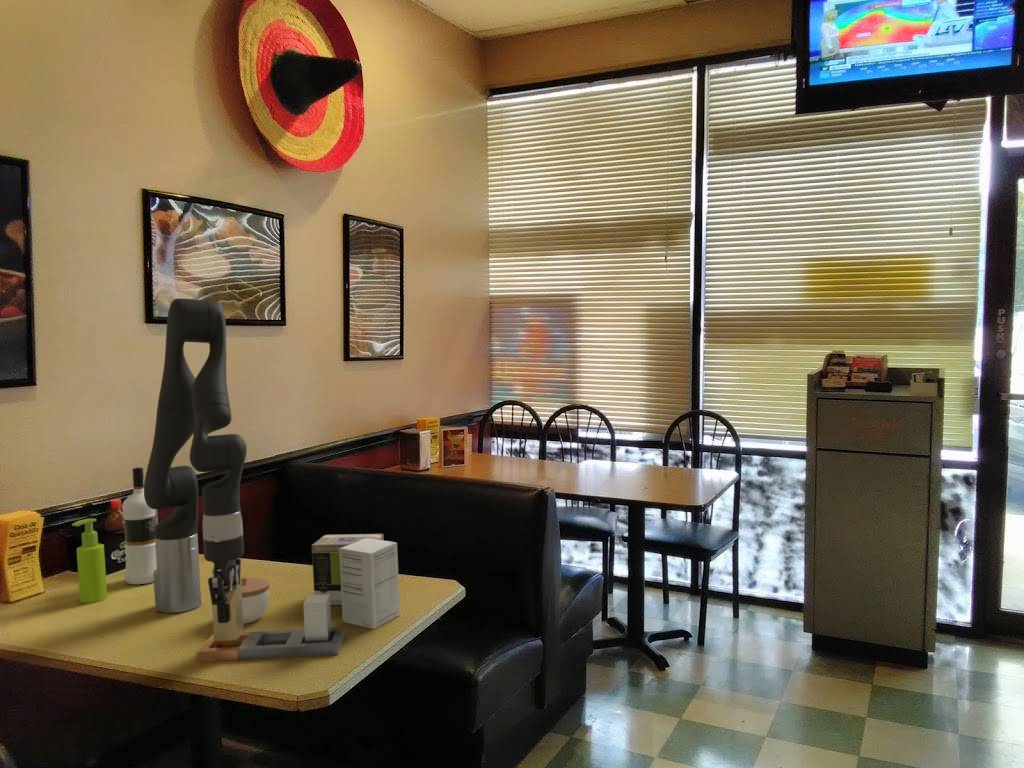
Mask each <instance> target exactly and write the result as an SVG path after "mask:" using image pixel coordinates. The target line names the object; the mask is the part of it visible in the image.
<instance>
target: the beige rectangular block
mask: <svg viewBox="0 0 1024 768" xmlns="http://www.w3.org/2000/svg"><path fill="white" fill-rule="evenodd" d="M227 587H228V586H224V588H227ZM219 598H221V595H219ZM211 610H212V629H213V634H214V641H222V640H237V639H238V638H239V636H240V635H241V634H242V632H244V624H243V614H242V595H241V583H238V584H232V590H231V591H230V592H229V610H230V621H229V622H228V623H219V622H218V617H217V605H212V604H211Z"/></svg>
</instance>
